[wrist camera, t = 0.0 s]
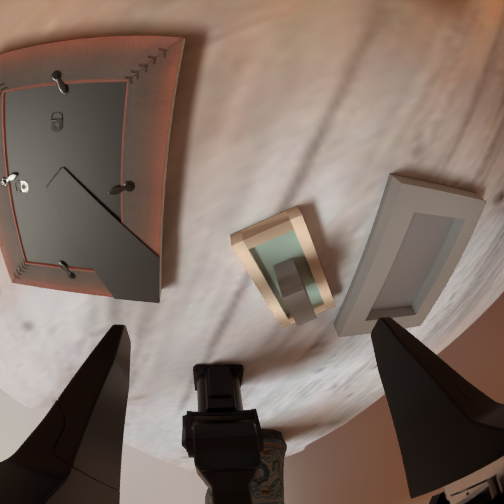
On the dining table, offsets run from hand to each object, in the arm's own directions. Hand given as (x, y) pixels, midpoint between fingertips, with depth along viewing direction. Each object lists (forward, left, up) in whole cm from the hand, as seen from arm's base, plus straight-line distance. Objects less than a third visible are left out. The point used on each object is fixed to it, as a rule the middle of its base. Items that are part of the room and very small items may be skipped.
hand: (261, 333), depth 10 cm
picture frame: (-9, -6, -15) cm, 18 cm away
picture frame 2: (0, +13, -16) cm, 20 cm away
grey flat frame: (-8, -20, -15) cm, 26 cm away
